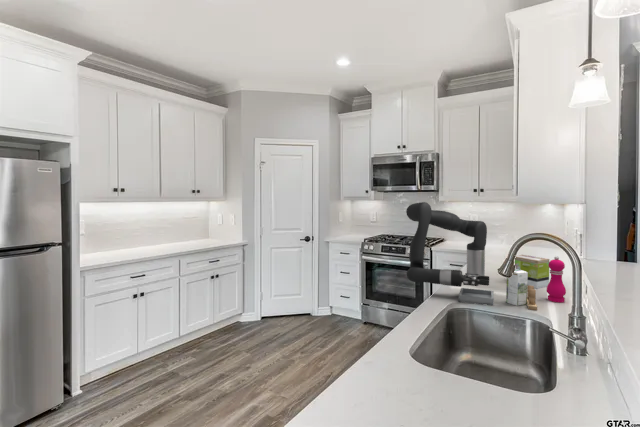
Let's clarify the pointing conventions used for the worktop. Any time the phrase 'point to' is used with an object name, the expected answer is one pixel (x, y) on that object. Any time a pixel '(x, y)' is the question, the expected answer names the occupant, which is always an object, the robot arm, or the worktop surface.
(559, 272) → the pepper mill
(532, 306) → the bench stop
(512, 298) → the syrup box
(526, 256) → the tea box
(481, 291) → the tray
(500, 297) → the worktop surface
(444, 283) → the robot arm
